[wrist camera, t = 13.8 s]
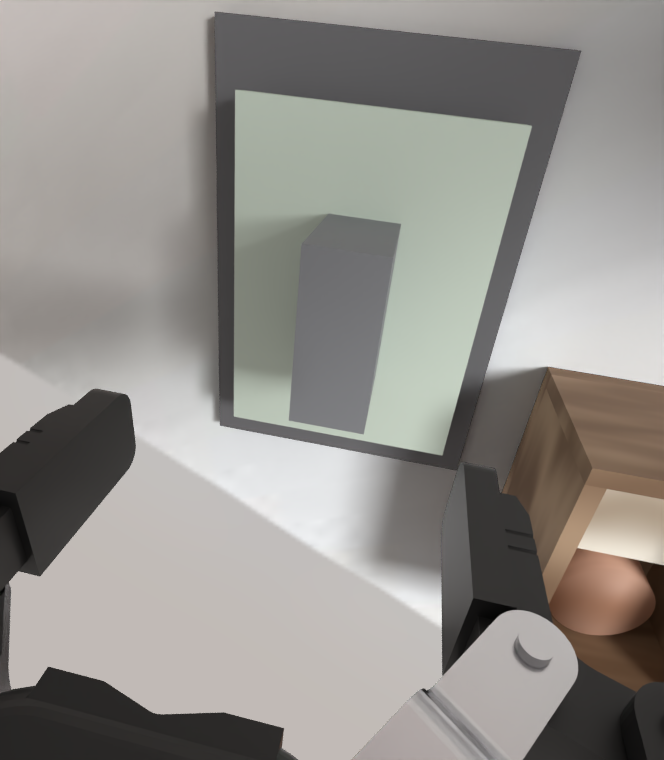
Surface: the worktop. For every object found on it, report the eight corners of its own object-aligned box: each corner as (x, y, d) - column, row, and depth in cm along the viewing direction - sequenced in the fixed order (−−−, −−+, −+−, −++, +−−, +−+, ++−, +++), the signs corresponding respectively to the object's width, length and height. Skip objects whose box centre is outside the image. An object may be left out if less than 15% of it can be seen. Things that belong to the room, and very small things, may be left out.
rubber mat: (220, 13, 20) (214, 11, 20) (577, 51, 19) (581, 51, 18) (223, 420, 30) (219, 425, 30) (456, 463, 29) (456, 470, 28)
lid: (252, 90, 21) (177, 87, 15) (522, 123, 20) (564, 134, 13) (247, 395, 28) (195, 478, 22) (441, 430, 27) (444, 528, 21)
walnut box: (548, 367, 25) (592, 468, 18) (760, 402, 24) (891, 523, 17) (478, 556, 32) (491, 681, 25) (640, 590, 31) (699, 729, 24)
